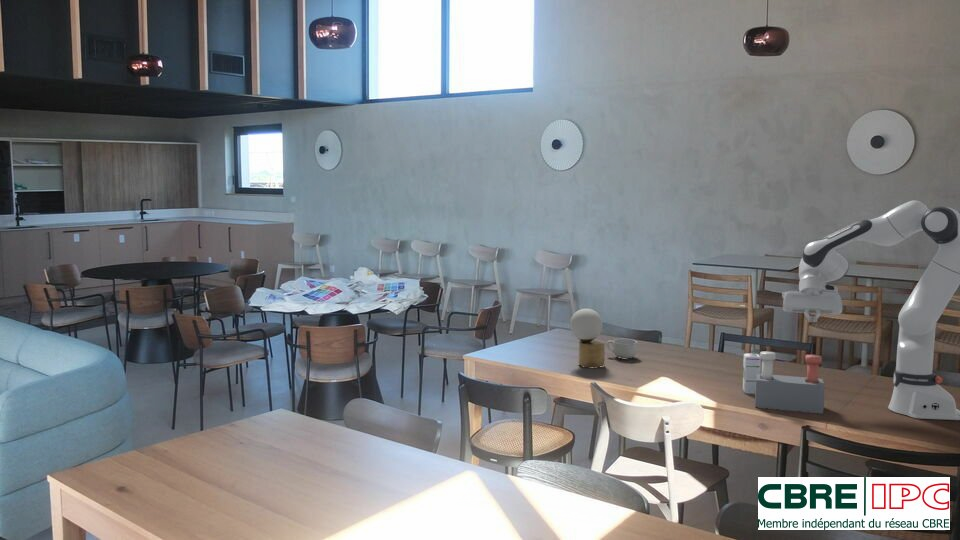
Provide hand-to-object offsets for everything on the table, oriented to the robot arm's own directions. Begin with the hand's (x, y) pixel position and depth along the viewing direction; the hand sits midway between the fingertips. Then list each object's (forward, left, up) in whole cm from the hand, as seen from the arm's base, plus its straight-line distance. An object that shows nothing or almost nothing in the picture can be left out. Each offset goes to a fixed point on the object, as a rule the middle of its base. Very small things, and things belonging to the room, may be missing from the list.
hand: (812, 321), depth 277 cm
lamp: (+88, -26, -30) cm, 96 cm away
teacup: (+76, -46, -30) cm, 94 cm away
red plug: (0, +12, -24) cm, 27 cm away
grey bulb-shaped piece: (+15, +12, -24) cm, 31 cm away
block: (+8, +12, -29) cm, 33 cm away
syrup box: (+20, -4, -30) cm, 36 cm away
